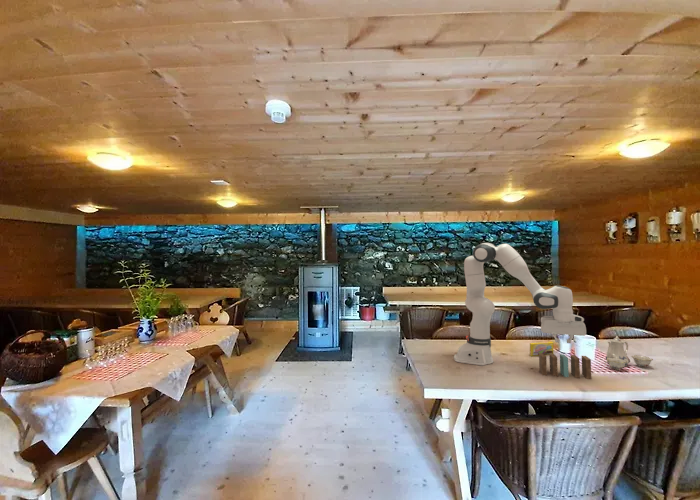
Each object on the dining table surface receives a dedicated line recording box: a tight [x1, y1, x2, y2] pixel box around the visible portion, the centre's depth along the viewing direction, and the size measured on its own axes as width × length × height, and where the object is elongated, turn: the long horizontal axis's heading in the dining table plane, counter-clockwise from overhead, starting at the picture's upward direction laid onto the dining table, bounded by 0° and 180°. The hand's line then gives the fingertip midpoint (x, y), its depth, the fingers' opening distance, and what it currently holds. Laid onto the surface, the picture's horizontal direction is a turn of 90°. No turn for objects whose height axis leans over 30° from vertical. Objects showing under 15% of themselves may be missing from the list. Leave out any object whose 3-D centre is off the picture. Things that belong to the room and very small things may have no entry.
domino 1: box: [538, 353, 548, 376], centre depth 171 cm, size 2×6×10 cm, turn 163°
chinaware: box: [604, 335, 654, 371], centre depth 180 cm, size 28×17×17 cm, turn 106°
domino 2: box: [548, 353, 559, 377], centre depth 170 cm, size 2×6×10 cm, turn 163°
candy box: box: [529, 341, 554, 358], centre depth 202 cm, size 16×2×8 cm, turn 101°
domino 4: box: [581, 355, 592, 380], centre depth 166 cm, size 2×6×10 cm, turn 163°
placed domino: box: [559, 353, 570, 378], centre depth 169 cm, size 2×6×10 cm, turn 163°
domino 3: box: [570, 354, 581, 379], centre depth 167 cm, size 2×6×10 cm, turn 163°
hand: (562, 342), depth 169 cm, fingers open, 4 cm apart
